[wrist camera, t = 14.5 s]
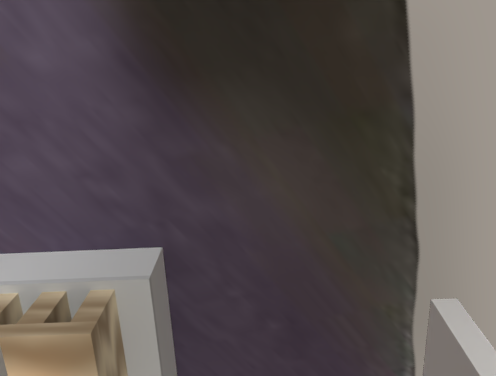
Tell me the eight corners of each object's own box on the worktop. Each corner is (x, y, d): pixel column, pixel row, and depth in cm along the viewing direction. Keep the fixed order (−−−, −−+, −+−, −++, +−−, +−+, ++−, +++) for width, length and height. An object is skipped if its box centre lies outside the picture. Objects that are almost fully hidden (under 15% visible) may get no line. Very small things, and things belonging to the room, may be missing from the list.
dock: (-7, 254, 44) (-45, 286, 38) (162, 247, 44) (149, 279, 38) (26, 392, 49) (-3, 439, 43) (178, 387, 49) (168, 433, 43)
